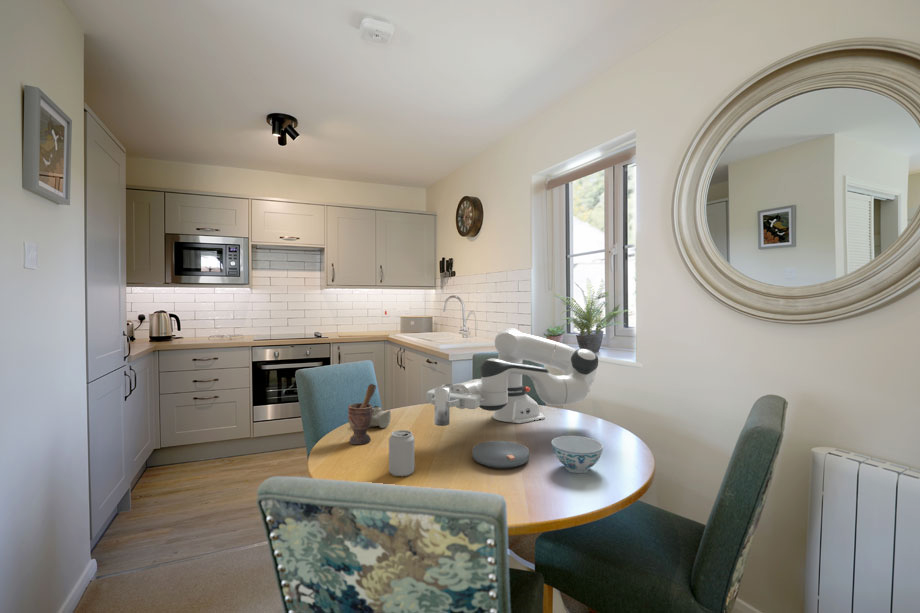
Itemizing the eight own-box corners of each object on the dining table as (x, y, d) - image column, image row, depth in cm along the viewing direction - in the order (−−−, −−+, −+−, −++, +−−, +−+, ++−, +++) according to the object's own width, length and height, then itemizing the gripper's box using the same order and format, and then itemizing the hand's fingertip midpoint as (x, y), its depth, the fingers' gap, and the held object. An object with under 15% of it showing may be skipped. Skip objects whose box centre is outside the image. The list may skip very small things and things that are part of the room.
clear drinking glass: (446, 421, 146) (447, 386, 145) (451, 425, 141) (451, 389, 141) (432, 422, 144) (432, 387, 144) (436, 426, 139) (436, 390, 139)
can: (409, 479, 122) (409, 437, 121) (385, 476, 123) (385, 435, 123) (417, 469, 129) (417, 429, 129) (394, 467, 130) (394, 428, 130)
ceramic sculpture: (382, 409, 165) (351, 407, 172) (383, 431, 165) (352, 429, 172) (397, 403, 175) (367, 402, 181) (398, 425, 175) (368, 422, 181)
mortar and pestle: (357, 434, 162) (357, 382, 162) (379, 435, 161) (379, 383, 160) (344, 444, 151) (344, 388, 150) (367, 446, 149) (367, 389, 149)
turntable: (464, 450, 142) (464, 442, 142) (513, 444, 148) (513, 436, 148) (485, 470, 125) (485, 461, 125) (539, 462, 131) (539, 454, 131)
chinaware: (572, 482, 119) (572, 455, 119) (541, 463, 133) (541, 439, 133) (613, 474, 125) (613, 448, 125) (580, 456, 139) (580, 433, 139)
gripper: (487, 408, 148) (467, 417, 136) (439, 400, 159) (416, 408, 147) (487, 390, 148) (467, 397, 136) (439, 384, 159) (416, 390, 147)
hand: (440, 403), depth 142 cm, fingers closed on clear drinking glass, 5 cm apart
